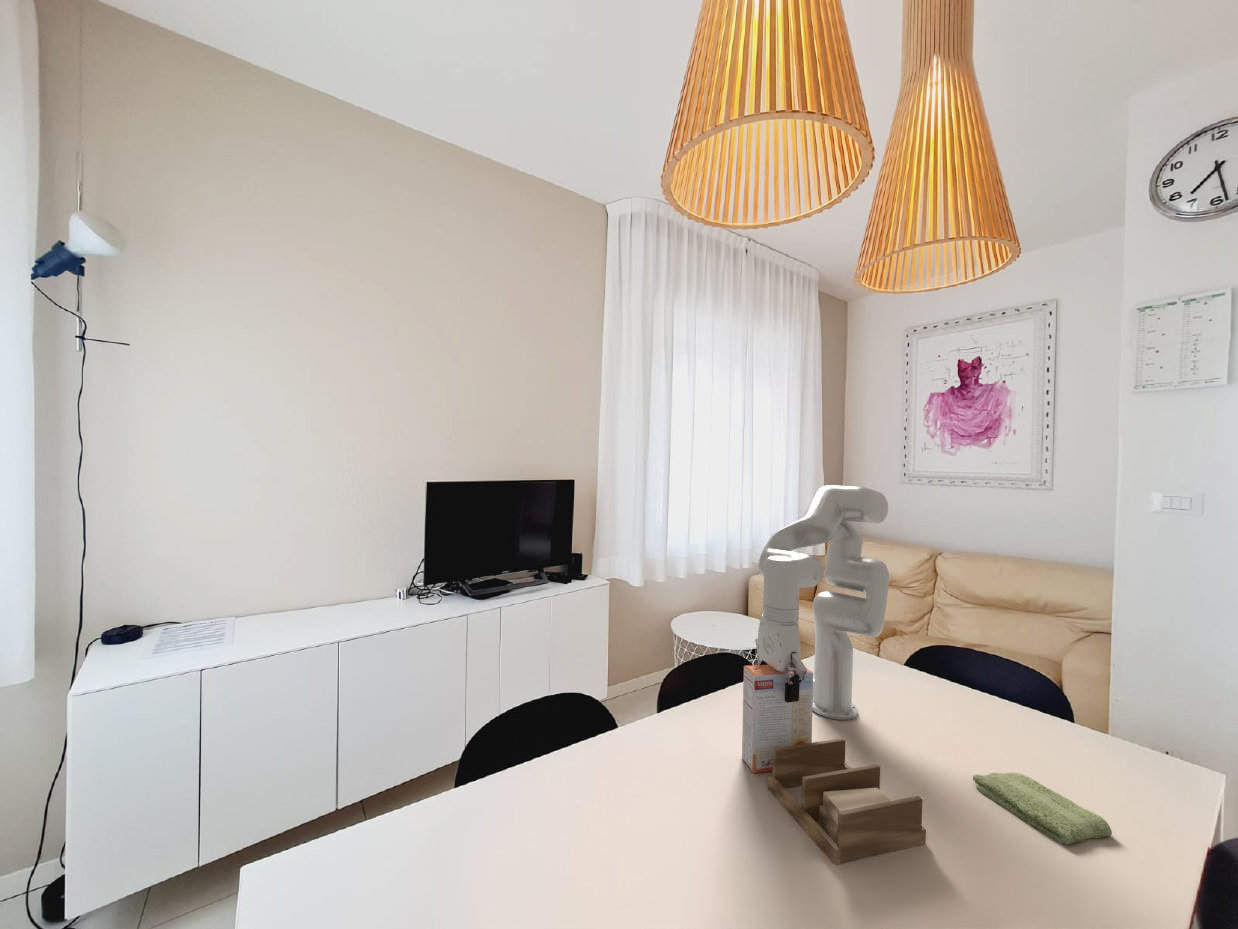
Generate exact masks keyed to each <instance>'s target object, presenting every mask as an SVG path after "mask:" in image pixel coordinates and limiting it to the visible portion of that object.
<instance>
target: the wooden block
mask: <svg viewBox="0 0 1238 929" xmlns="http://www.w3.org/2000/svg"><path fill="white" fill-rule="evenodd" d="M889 801H892V800H891V799H890V798H889V797H888V796H887V795H886V794H884V792H882V790H879V789H878V788H865V789H853V790H840V791H828V792H823V806H819V820H818V822H819V823H820V825H821V826H822V829H823V830H824V831H825V832H826V833H827V835H828V836H829V837H830V838H831V839H832V840H833V841H834V842H835V843H836V844H837V830H838V812H839V811H844V810H849V809H854V808H859V807H864V806H869V805H874V804H879V803H884V802H889Z"/></svg>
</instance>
